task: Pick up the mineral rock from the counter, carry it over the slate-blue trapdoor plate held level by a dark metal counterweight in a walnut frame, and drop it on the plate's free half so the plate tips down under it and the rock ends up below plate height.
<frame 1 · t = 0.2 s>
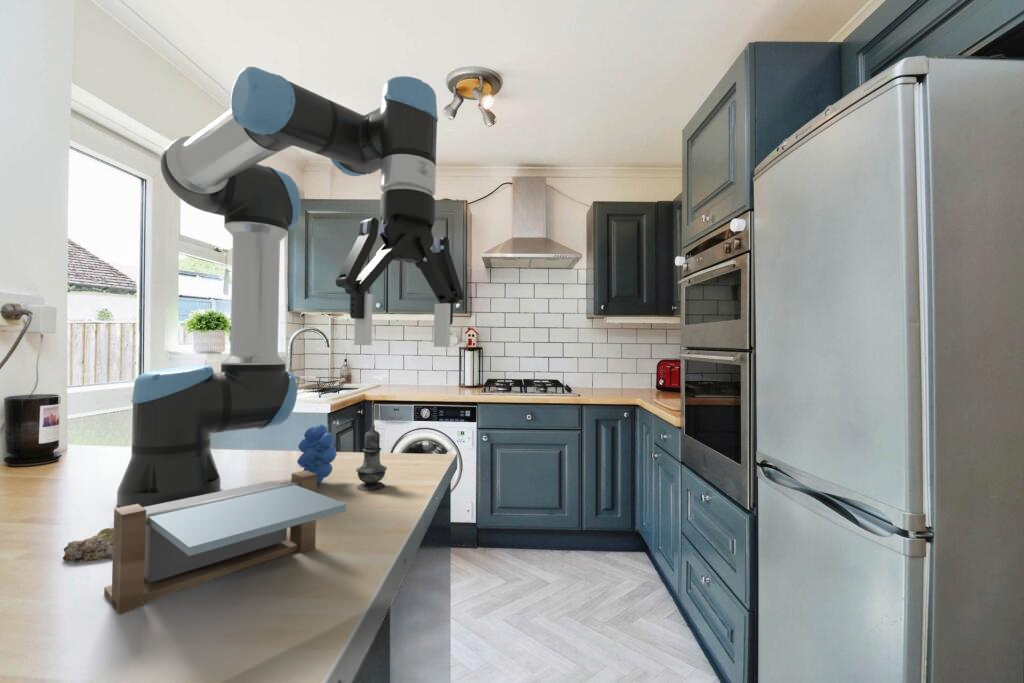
hand: (405, 346, 66), 28 cm above the counter, tool pointing down, fingers open, 13 cm apart
grapes: (320, 483, 95), on the counter
salt shaker: (371, 487, 93), on the counter
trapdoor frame: (226, 572, 57), on the counter
mineral rock: (117, 552, 63), on the counter
trapdoor: (240, 535, 55), point 5 cm above the counter, hinge at 0.0°
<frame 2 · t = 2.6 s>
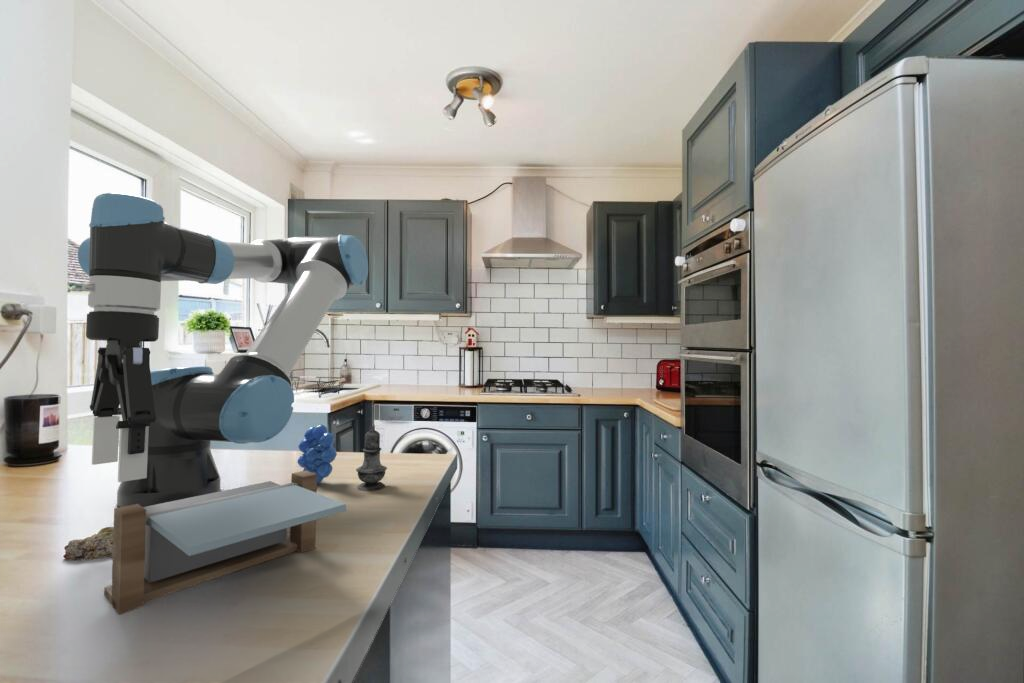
hand: (117, 471, 63), 10 cm above the counter, tool pointing down, fingers open, 13 cm apart
nothing on the counter moved.
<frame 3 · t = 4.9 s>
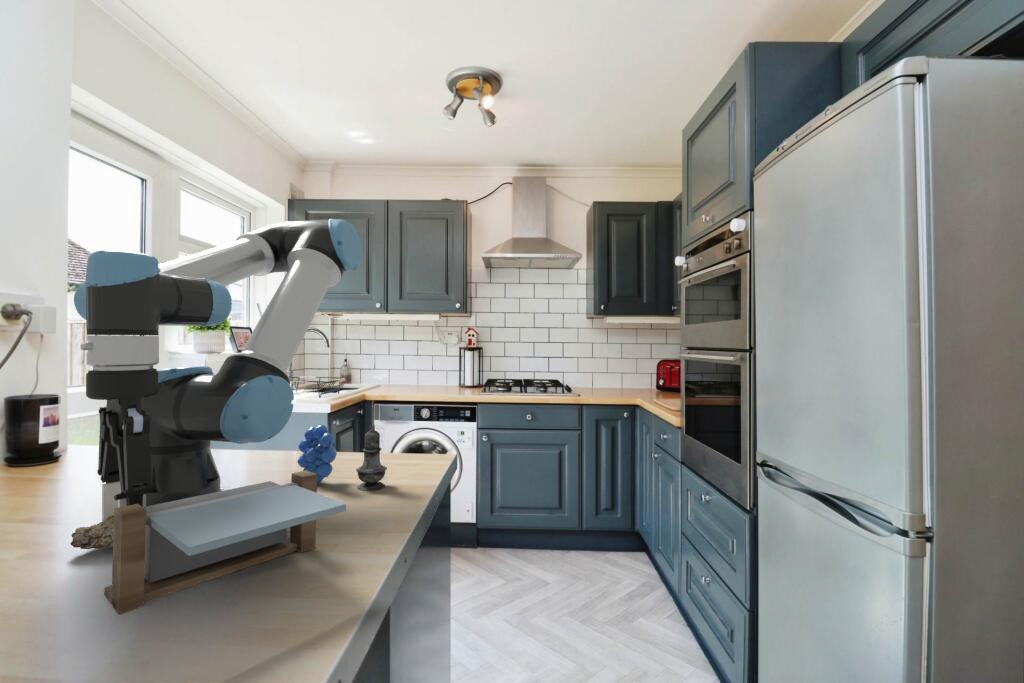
hand: (123, 536, 64), 1 cm above the counter, tool pointing down, fingers closed on mineral rock, 8 cm apart
mineral rock: (124, 539, 64), point 1 cm above the counter, touching gripper
everything else where it was.
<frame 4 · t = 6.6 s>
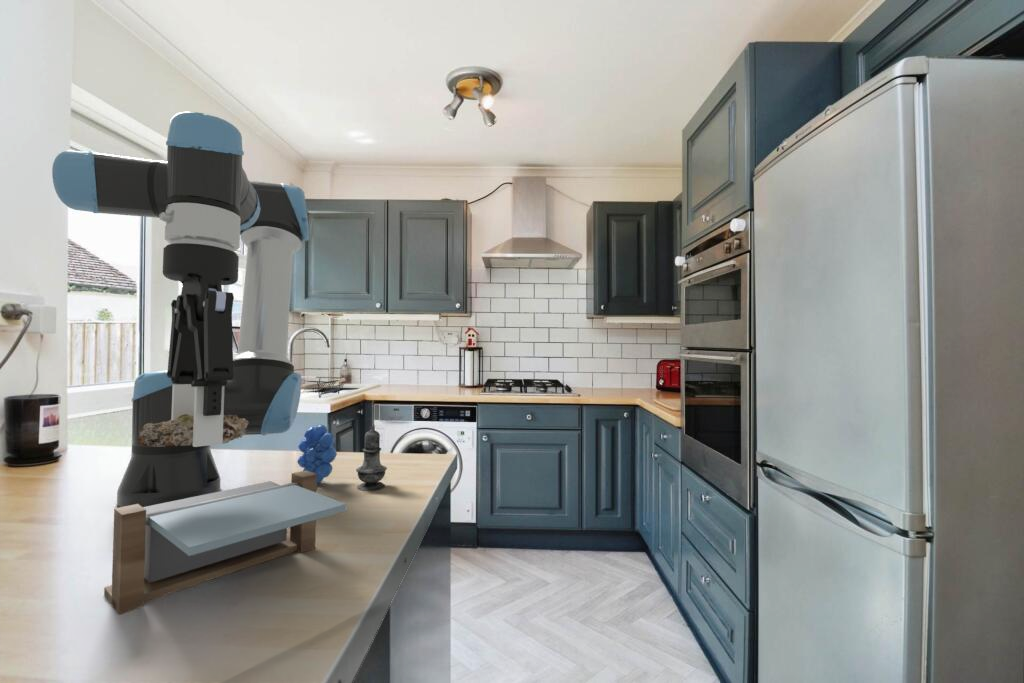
hand: (195, 440, 55), 16 cm above the counter, tool pointing down, fingers closed on mineral rock, 8 cm apart
mineral rock: (195, 443, 55), point 16 cm above the counter, touching gripper
everything else where it was.
when the fingers open (10 cm above the counter, at t = 8.1 s): mineral rock drops 1 cm, resting on trapdoor.
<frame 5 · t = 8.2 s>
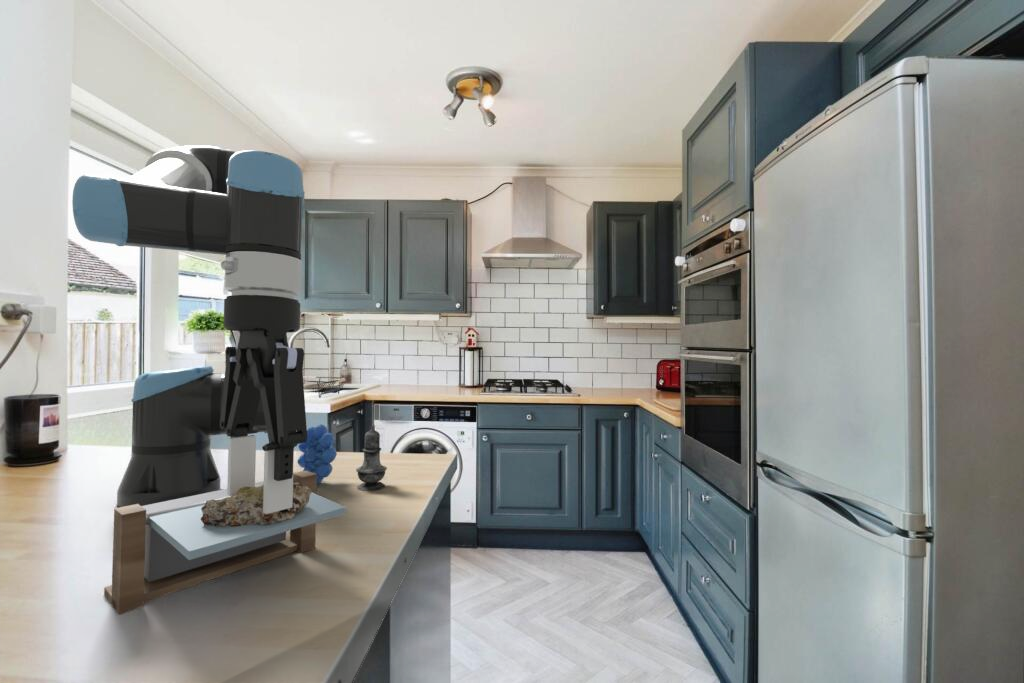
hand: (258, 500, 52), 10 cm above the counter, tool pointing down, fingers open, 8 cm apart
mineral rock: (257, 516, 52), point 8 cm above the counter, touching trapdoor
trapdoor: (239, 536, 55), point 5 cm above the counter, hinge at -1.9°, touching mineral rock
everything else where it was.
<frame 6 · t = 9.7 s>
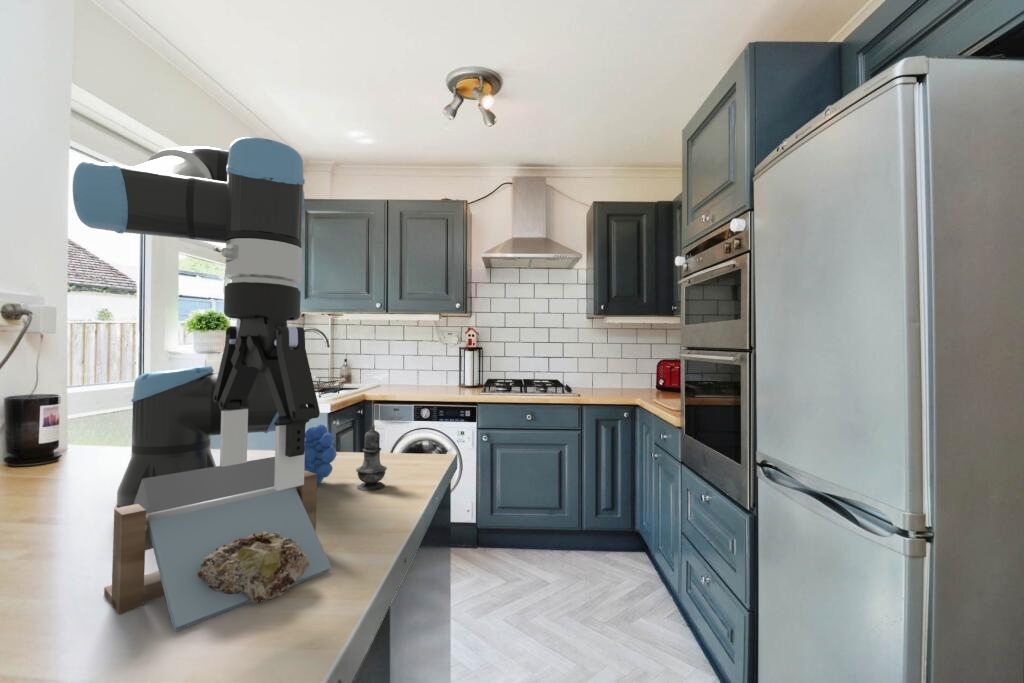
hand: (259, 475, 52), 13 cm above the counter, tool pointing down, fingers open, 13 cm apart
mineral rock: (252, 569, 52), point 3 cm above the counter, touching trapdoor
trapdoor: (229, 542, 57), point 4 cm above the counter, hinge at -40.9°, touching mineral rock
everything else where it was.
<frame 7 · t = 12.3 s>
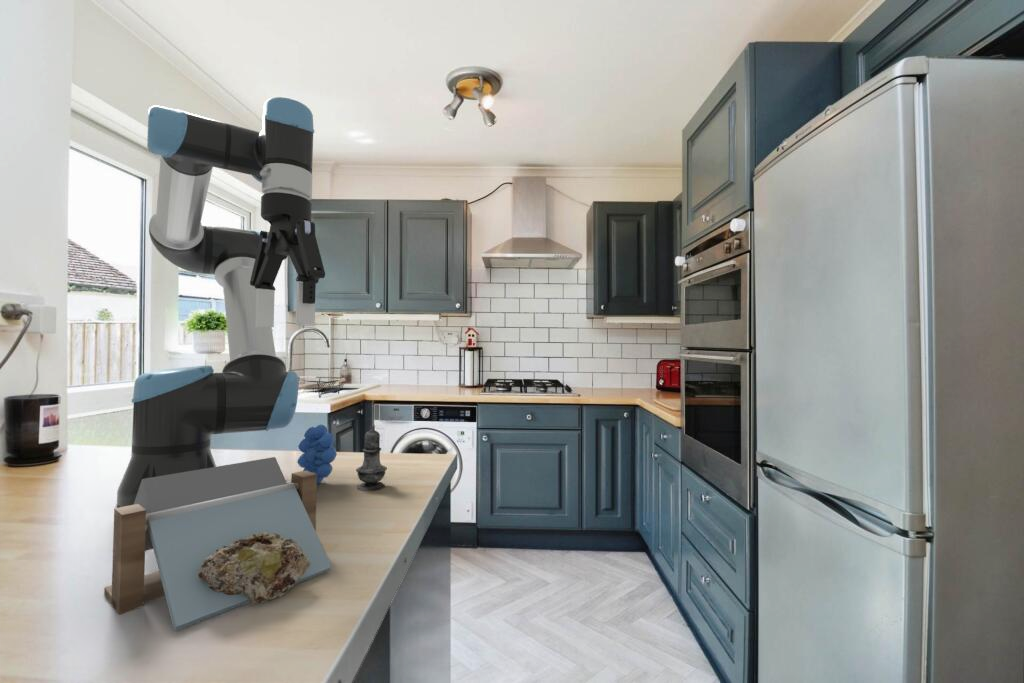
hand: (283, 326, 77), 31 cm above the counter, tool pointing down, fingers open, 13 cm apart
trapdoor: (229, 542, 57), point 4 cm above the counter, hinge at -40.4°, touching mineral rock
everything else where it was.
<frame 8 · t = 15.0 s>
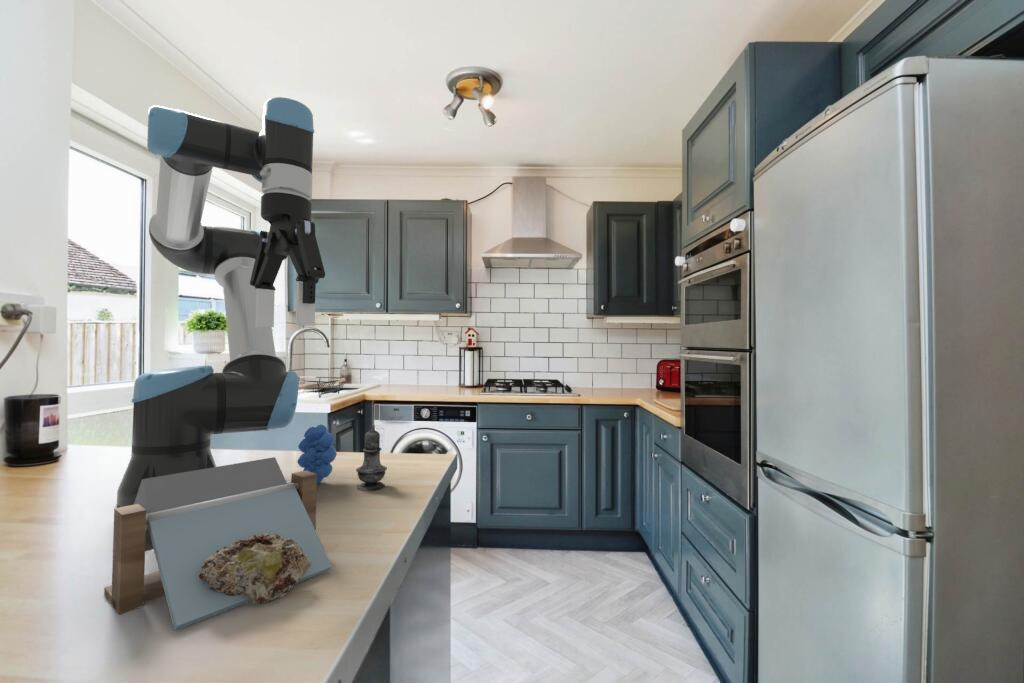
hand: (283, 326, 77), 31 cm above the counter, tool pointing down, fingers open, 13 cm apart
trapdoor: (229, 542, 57), point 4 cm above the counter, hinge at -39.9°, touching mineral rock
everything else where it was.
at the end: mineral rock point 2.4 cm above the counter; mineral rock inside the target area (5.9 cm from its centre), point 2.4 cm above the counter; the gripper is holding nothing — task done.
